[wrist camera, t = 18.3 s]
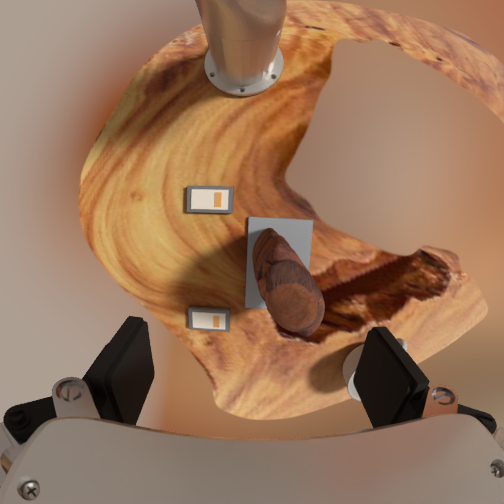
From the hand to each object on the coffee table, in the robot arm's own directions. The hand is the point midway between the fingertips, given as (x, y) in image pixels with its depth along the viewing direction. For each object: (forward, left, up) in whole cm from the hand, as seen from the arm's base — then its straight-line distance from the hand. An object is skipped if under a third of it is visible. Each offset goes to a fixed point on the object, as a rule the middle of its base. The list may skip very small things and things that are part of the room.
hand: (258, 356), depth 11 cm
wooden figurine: (+5, +5, -33) cm, 33 cm away
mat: (+5, +5, -33) cm, 34 cm away
